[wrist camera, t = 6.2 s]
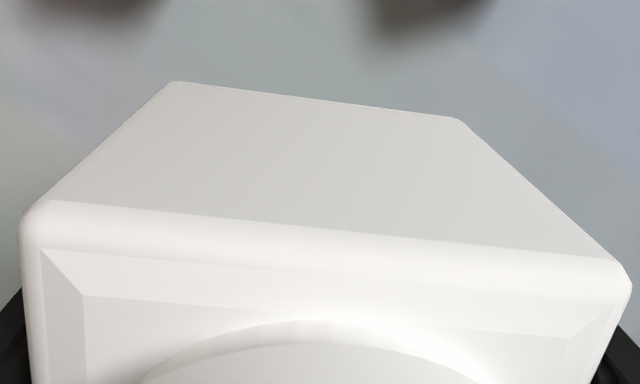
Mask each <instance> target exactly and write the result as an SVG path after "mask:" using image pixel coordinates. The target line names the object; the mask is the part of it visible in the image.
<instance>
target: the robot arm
mask: <svg viewBox="0 0 640 384" xmlns="http://www.w3.org/2000/svg"><path fill="white" fill-rule="evenodd" d="M0 384H32V380H31V370H30V361H29V351H28V341H27V331H26V322H25V312H24V302H23V293H22V287H21V288H20V289H19V291H18V292H17V293H16V294H15V295H14V296H13V298H12V299H11V300H10V301H9V302H8V303H7V305H6V306H5V307H4V308H3V309H2V310H1V312H0ZM590 384H640V348H639V347H638V346H637V345H636V344H635V343H634V342H633V341H632V339H631V338H630V337H629V336H628V335H627V334H626V333H625V332H624V331H623V330H622V329H621V327H620V326H619V325H618V324H617V326H616V328H615V331H614V333H613V335H612V337H611V339H610V341H609V344H608V346H607V348H606V350H605V352H604V354H603V357H602V359H601V361H600V363H599V365H598V367H597V370H596V372H595V374H594V376H593V378H592V380H591V382H590Z"/></svg>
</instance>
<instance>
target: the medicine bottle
mask: <svg viewBox="0 0 640 384" xmlns="http://www.w3.org/2000/svg"><path fill="white" fill-rule="evenodd" d="M17 244H18V254H19V263H20V273H21V283H22V293H23V302H24V312H25V322H26V331H27V341H28V351H29V361H30V370H31V380H32V384H590V382H591V380H592V378H593V376H594V374H595V372H596V370H597V367H598V365H599V363H600V361H601V359H602V357H603V354H604V352H605V350H606V348H607V346H608V344H609V341H610V339H611V337H612V335H613V333H614V331H615V328H616V326H617V324H618V322H619V320H620V318H621V316H622V313H623V311H624V309H625V307H626V305H627V303H628V300H629V298H630V296H631V289H632V283H631V281H630V279H629V278H628V276H627V274H626V272H625V270H624V269H623V267H622V265H621V264H620V263H619V262H618V261H617V260H616V259H615V258H614V257H612V256H611V255H610V254H609V253H608V252H607V251H606V250H605V249H603V248H602V247H601V246H600V245H599V244H598V243H597V242H596V241H595V240H593V239H592V238H591V237H590V236H589V235H588V234H587V233H586V232H584V231H583V230H582V229H581V228H580V227H579V226H578V225H577V224H576V223H574V222H573V221H572V220H571V219H570V218H569V217H568V216H567V215H565V214H564V213H563V212H562V211H561V210H560V209H559V208H558V207H557V206H555V205H554V204H553V203H552V202H551V201H550V200H549V199H548V198H546V197H545V196H544V195H543V194H542V193H541V192H540V191H539V190H538V189H536V188H535V187H534V186H533V185H532V184H531V183H530V182H529V181H528V180H526V179H525V178H524V177H523V176H522V175H521V174H520V173H519V172H517V171H516V170H515V169H514V168H513V167H512V166H511V165H510V164H509V163H507V162H506V161H505V160H504V159H503V158H502V157H501V156H500V155H498V154H497V153H496V152H495V151H494V150H493V149H492V148H491V147H490V146H488V145H487V144H486V143H485V142H484V141H483V140H482V139H481V138H479V137H478V136H477V135H476V134H475V133H474V132H473V131H472V130H471V129H469V128H468V127H467V126H466V125H465V124H464V123H463V122H462V121H460V120H458V119H456V118H453V117H445V116H438V115H430V114H423V113H415V112H408V111H400V110H393V109H385V108H378V107H370V106H363V105H355V104H347V103H340V102H332V101H325V100H317V99H310V98H302V97H295V96H287V95H280V94H272V93H265V92H257V91H250V90H242V89H235V88H227V87H220V86H212V85H205V84H197V83H190V82H182V81H174V82H169V83H168V84H166V85H165V86H164V87H163V88H162V89H161V90H159V91H158V92H157V93H156V94H155V95H154V96H153V97H152V98H151V99H149V100H148V101H147V102H146V103H145V104H144V105H143V106H142V107H140V108H139V109H138V110H137V111H136V112H135V113H134V114H133V115H132V116H130V117H129V118H128V119H127V120H126V121H125V122H124V123H123V124H121V125H120V126H119V127H118V128H117V129H116V130H115V131H114V132H113V133H111V134H110V135H109V136H108V137H107V138H106V139H105V140H104V141H102V142H101V143H100V144H99V145H98V146H97V147H96V148H95V149H94V150H92V151H91V152H90V153H89V154H88V155H87V156H86V157H85V158H83V159H82V160H81V161H80V162H79V163H78V164H77V165H76V166H74V167H73V168H72V169H71V170H70V171H69V172H68V173H67V174H66V175H64V176H63V177H62V178H61V179H60V180H59V181H58V182H57V183H55V184H54V185H53V186H52V187H51V188H50V189H49V190H48V191H47V192H45V193H44V194H43V195H42V196H41V197H40V198H39V199H38V200H36V201H35V202H34V203H33V204H32V205H31V206H30V207H29V208H28V209H26V210H25V211H24V212H23V215H22V217H21V220H20V222H19V227H18V231H17Z"/></svg>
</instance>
